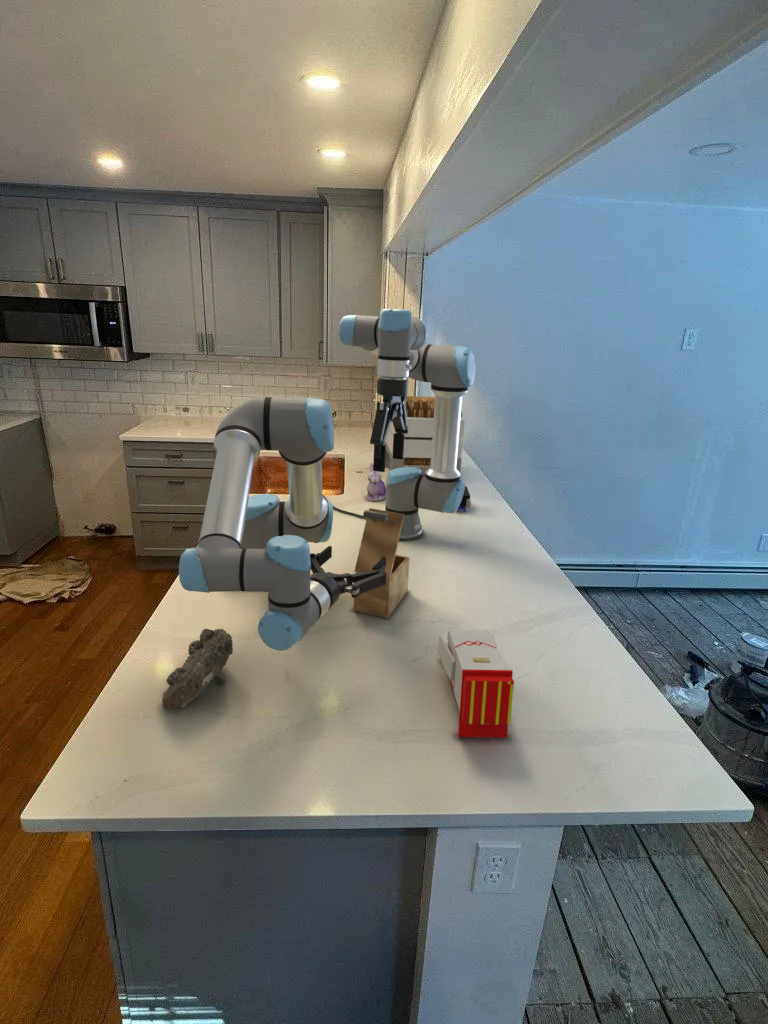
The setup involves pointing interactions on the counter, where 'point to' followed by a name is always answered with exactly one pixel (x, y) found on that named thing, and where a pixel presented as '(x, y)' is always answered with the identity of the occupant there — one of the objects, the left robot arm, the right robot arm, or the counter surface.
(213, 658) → the fossil
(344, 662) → the counter surface
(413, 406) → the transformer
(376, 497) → the figurine
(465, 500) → the figurine character
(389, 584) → the chest
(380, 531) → the lid
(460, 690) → the toy
